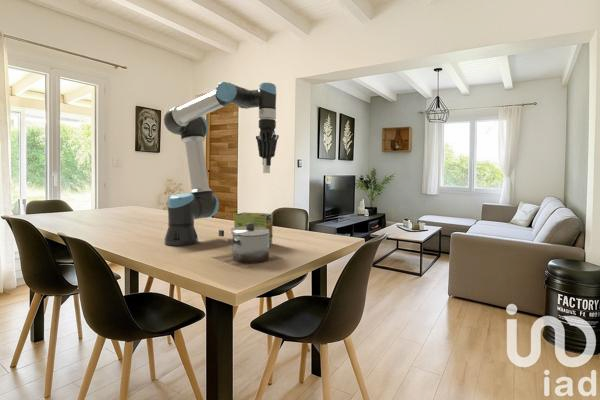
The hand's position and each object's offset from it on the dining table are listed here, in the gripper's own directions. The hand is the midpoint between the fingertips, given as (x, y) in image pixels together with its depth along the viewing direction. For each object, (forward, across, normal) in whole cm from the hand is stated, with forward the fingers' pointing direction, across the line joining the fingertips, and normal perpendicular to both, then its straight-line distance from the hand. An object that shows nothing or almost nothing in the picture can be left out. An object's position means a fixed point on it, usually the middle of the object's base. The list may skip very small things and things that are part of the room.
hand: (266, 173), depth 148 cm
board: (+34, +11, -19) cm, 41 cm away
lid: (+23, +12, -19) cm, 32 cm away
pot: (+33, +13, -19) cm, 40 cm away
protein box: (+35, -6, -2) cm, 35 cm away
